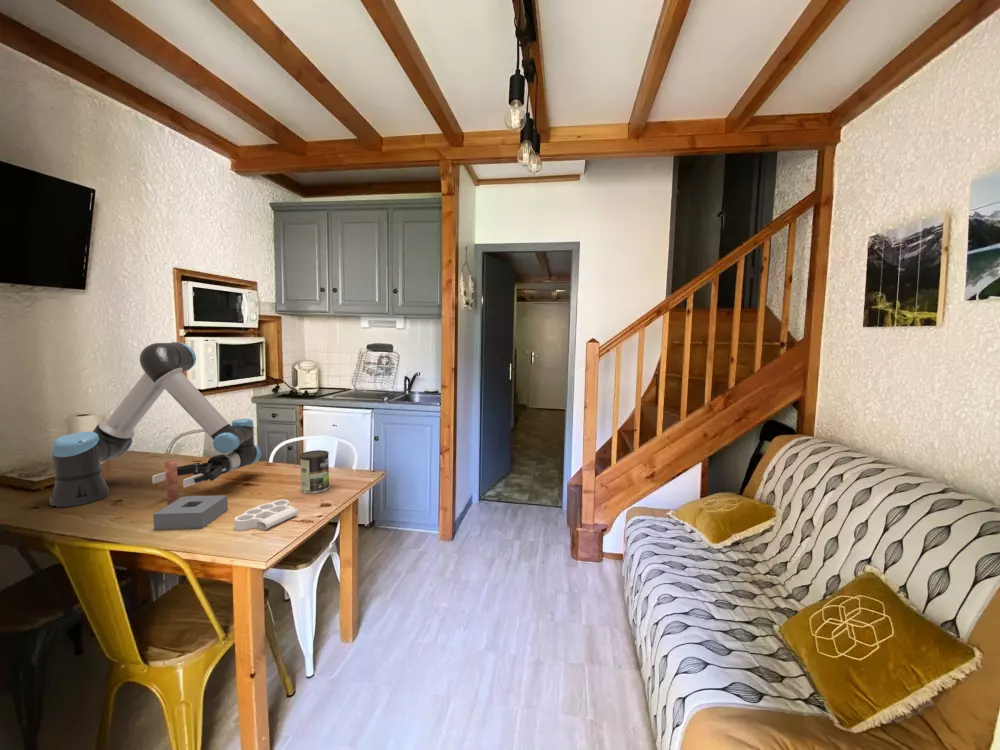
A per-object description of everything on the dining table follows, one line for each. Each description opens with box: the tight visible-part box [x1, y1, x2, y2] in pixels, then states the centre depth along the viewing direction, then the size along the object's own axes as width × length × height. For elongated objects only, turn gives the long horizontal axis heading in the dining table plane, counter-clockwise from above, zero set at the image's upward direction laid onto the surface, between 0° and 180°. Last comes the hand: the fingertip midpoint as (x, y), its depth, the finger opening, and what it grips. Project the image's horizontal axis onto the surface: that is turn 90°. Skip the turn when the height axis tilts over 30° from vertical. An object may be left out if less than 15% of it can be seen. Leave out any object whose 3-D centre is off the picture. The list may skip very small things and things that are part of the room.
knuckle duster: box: [234, 499, 299, 531], centre depth 135 cm, size 3×18×15 cm
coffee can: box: [299, 449, 330, 494], centre depth 162 cm, size 10×10×14 cm
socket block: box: [152, 494, 229, 531], centre depth 134 cm, size 14×14×5 cm
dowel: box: [164, 459, 180, 506], centre depth 144 cm, size 3×3×16 cm
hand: (168, 481), depth 142 cm, fingers open, 13 cm apart
